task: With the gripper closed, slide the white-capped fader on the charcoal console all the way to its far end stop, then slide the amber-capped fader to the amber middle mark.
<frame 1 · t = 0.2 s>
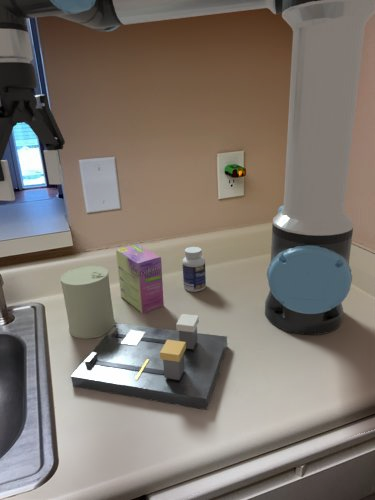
hand: (33, 191, 70), 28 cm above the worktop, fingers open, 13 cm apart
fader a: (188, 331, 66), point 5 cm above the worktop, slide at 0.0 cm
pill bottle: (194, 288, 93), on the worktop
box: (142, 301, 87), on the worktop
can: (92, 326, 78), on the worktop
fader b: (173, 360, 59), point 5 cm above the worktop, slide at 0.0 cm
console: (154, 364, 66), on the worktop
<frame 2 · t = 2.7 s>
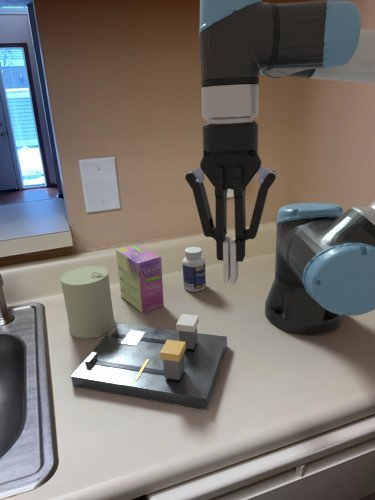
hand: (231, 278, 60), 15 cm above the worktop, fingers closed
nothing on the worktop moved.
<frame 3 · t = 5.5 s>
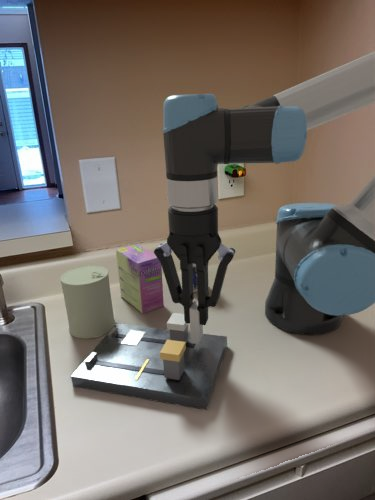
hand: (197, 338, 66), 4 cm above the worktop, fingers closed
fader a: (179, 330, 67), point 5 cm above the worktop, slide at 1.7 cm, touching gripper
everything else where it was.
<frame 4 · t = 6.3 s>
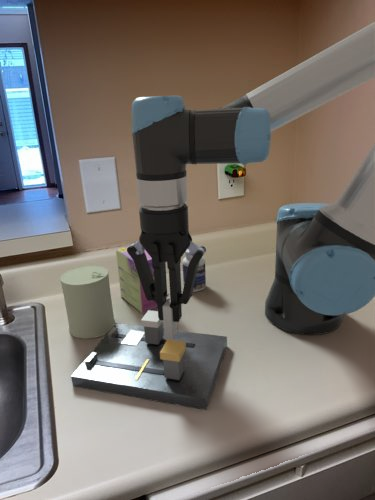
hand: (171, 335, 67), 4 cm above the worktop, fingers closed
fader a: (153, 327, 68), point 5 cm above the worktop, slide at 6.3 cm, touching gripper
everything else where it was.
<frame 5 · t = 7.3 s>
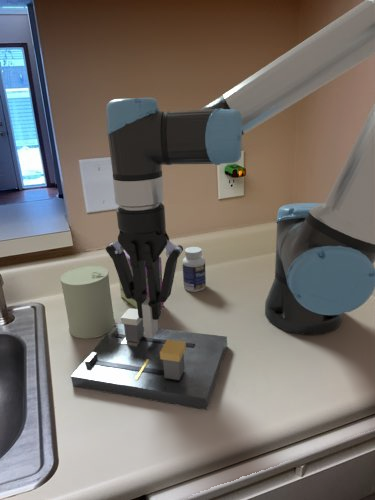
hand: (151, 333, 68), 4 cm above the worktop, fingers closed
fader a: (133, 325, 69), point 5 cm above the worktop, slide at 10.1 cm, touching gripper
everything else where it was.
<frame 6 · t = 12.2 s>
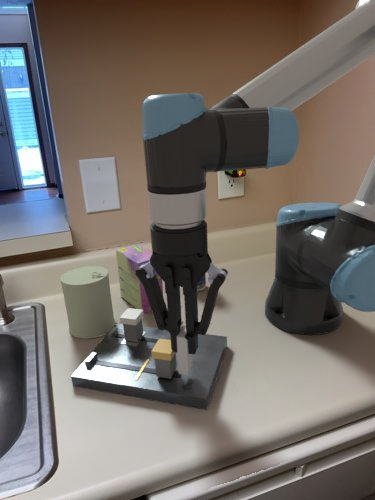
hand: (185, 368, 59), 4 cm above the worktop, fingers closed
fader a: (132, 325, 69), point 5 cm above the worktop, slide at 10.3 cm
fader b: (165, 359, 59), point 5 cm above the worktop, slide at 1.4 cm, touching gripper
everything else where it was.
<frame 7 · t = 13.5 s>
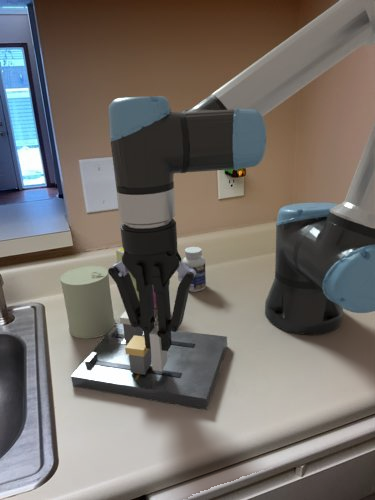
hand: (160, 365, 60), 3 cm above the worktop, fingers closed
fader b: (139, 355, 60), point 5 cm above the worktop, slide at 5.6 cm, touching gripper
everything else where it was.
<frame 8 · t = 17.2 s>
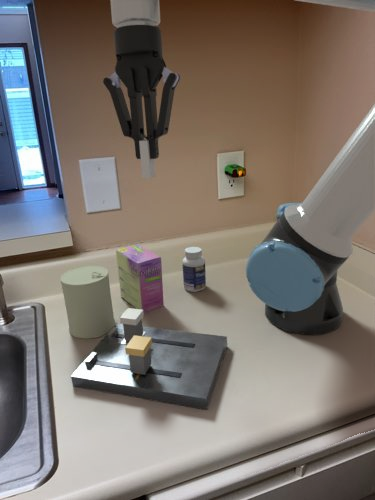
hand: (149, 177, 69), 29 cm above the worktop, fingers closed
fader b: (139, 355, 60), point 5 cm above the worktop, slide at 5.6 cm
everything else where it was.
at the end: fader a slide at 10.3 cm; fader b slide at 5.6 cm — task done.
